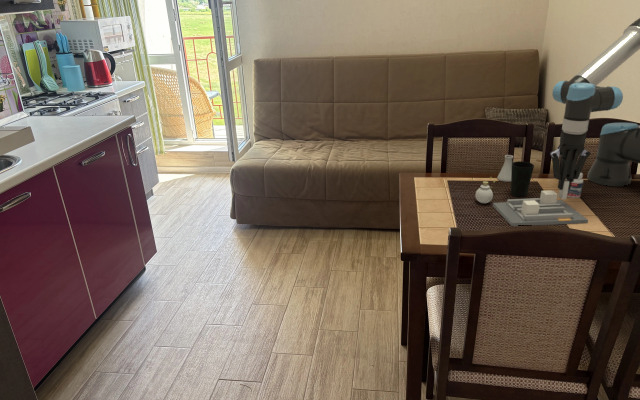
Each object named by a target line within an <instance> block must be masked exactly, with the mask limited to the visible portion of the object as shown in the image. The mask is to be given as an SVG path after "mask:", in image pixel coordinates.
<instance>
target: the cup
mask: <svg viewBox="0 0 640 400" xmlns="http://www.w3.org/2000/svg"><path fill="white" fill-rule="evenodd" d="M534 168H535V165H534V163H531V162H528V161H514V162H513V161H512V172H511V183H510V195H511V196H513V197H514V198H525V197H527V196H528V193H529V192H528V191H529V187H530V184H531V180H532V176H533V172H534Z"/></svg>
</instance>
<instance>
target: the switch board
mask: <svg viewBox="0 0 640 400" xmlns="http://www.w3.org/2000/svg"><path fill="white" fill-rule="evenodd" d="M530 200H535V201H536V202H537V203H538V204H539V202H540V197H537V198H535V197H534V198H533V197H532V198H515V199H514V198H513V199H512V198H511V199H510V198H508V199H507V200H506V202H504V201H503V202H493V203H492V207H493V208H494V209H495V210H496V211H497V212H498V213H499V214H500V215H501V217H503V219H504V220H505V221H506V222H507V223H508V224H509V225H510V226H511V227H519V226H518V225H532V226H549V225H550V226H551V225H553V226H554V225H576V224H588V222H589V219H588V218H587V217H585V216H584V215H583V214H581V213H580V212H579V211H577V210H576V209H575V208H573V207H572V206H570V204H568V203H567V202H565V201H564V199H557V201H556V204H540V205H539V212H538V214H534V215H522V214H521V210H522V203H523V201H530Z"/></svg>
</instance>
